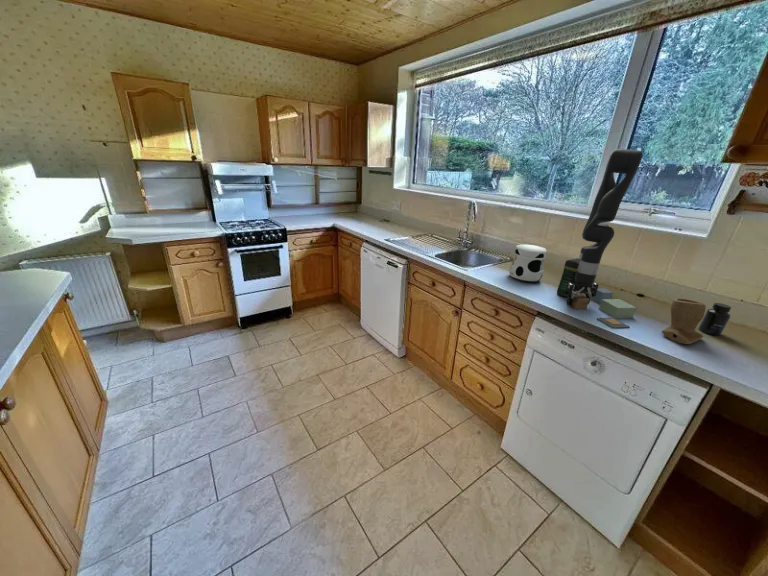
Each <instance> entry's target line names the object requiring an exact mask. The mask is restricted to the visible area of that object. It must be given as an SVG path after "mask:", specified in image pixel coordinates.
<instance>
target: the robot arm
mask: <svg viewBox="0 0 768 576" xmlns="http://www.w3.org/2000/svg"><path fill="white" fill-rule="evenodd" d="M642 159H643V151H641V150H636V149H628V148H627V149H625V148H616V149H613V150H612V152H611V153H610V155H609V157H608V160H607V163H606V166H605V169H604V170H605V171H604V173H603V177H602V180H601V183H600V185H599V188H598V191H597V194H596V196H595V199H594V200H593V201H594V202H593V204H592V207H591V212H590V213H589V217H588V219H587V221H586V224H585V225H584V227H583V230H582V233H581V234H582V236H581V237H582V239H583V240H584V241H587V242H592V243H594V244H591V245H586V246H582V247H581V249H580V253H579V256H578V259H581V261H580V263H579V266H578V269H577V273H576V276H575V283H574V284H570V283H568V285H567V287H566V290H565V293H564V295H565V296H567V297H566V298H567V299H566V305H567V306H568V305H569V306H571V305H572V302H573V298H574V297H575V296H576V295H578V294H584V296H585V297H587V298H589V302H588V305H589V304H590V302H591V298H592V297H593V296H594V297H595V296H596V293H597V289H598V288H599V286H600V285H599V284H598V283H596V278H597V276H598V275H597V274H598V272H599V269H600V268H599V267H600V263H601V260H602V257H603V255H604V252H605V250H606V248H607V246H609V244H610V242H611V241H612V240H613V238H614V236H615V230H614V228H613V227H611V226H609V224H606V223H610V222H613V221H615V219H616V217H617V216H616V215H617V214H618V210H619V208H620V206H621V203H622V201H623V199H624V197H625V195H626V192H627V191H628V189H629V187H630V185H631V183H632V181H633V180H634V177H635V175H636V173H637V171H638V169H639V166H640V164H641V162H642ZM615 174H624V177H623V179H622V180H621V181H619V183H617V182H616V181H615V176H614V175H615ZM574 291H576V292H574ZM593 291H594V292H593ZM572 294H573V295H572ZM569 306H568V307H569Z"/></svg>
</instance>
